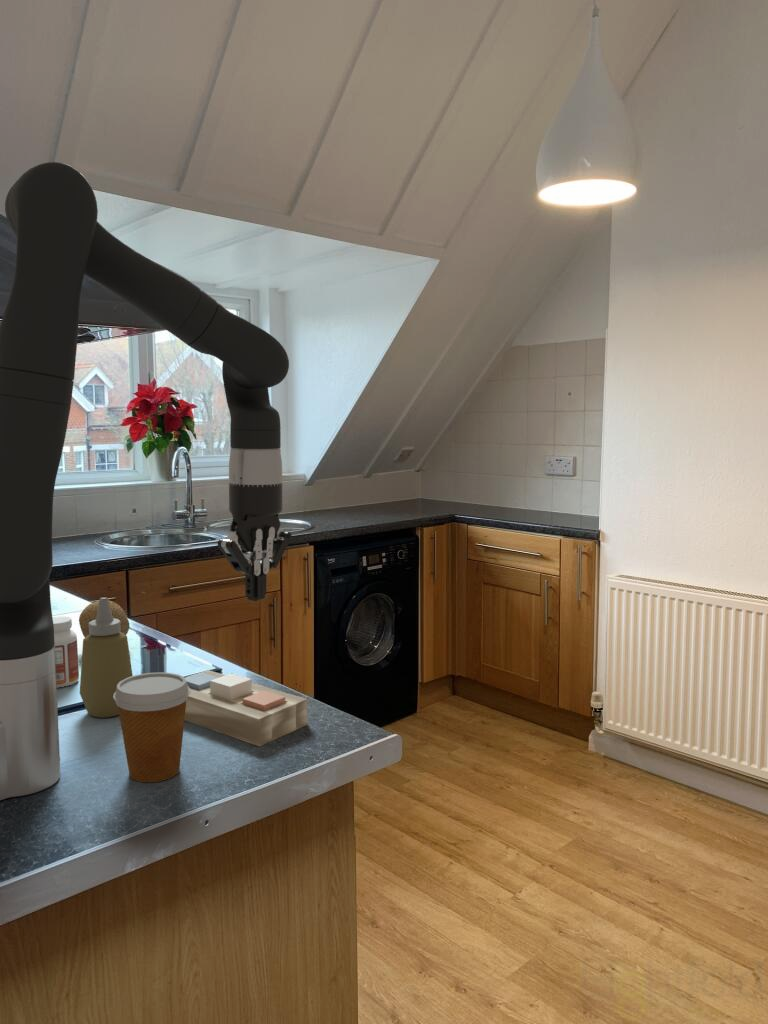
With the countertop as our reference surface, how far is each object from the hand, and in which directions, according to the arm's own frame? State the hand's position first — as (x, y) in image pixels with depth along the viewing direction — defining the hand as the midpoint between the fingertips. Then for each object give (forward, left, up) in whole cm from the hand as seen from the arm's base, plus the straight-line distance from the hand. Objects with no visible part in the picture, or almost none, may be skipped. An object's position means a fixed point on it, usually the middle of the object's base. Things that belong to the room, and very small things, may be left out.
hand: (256, 599), depth 120 cm
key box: (+1, +6, -20) cm, 20 cm away
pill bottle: (-6, +41, -20) cm, 46 cm away
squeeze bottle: (-9, +23, -20) cm, 32 cm away
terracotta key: (+1, -1, -18) cm, 18 cm away
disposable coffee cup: (-18, 0, -20) cm, 27 cm away
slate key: (+1, +13, -18) cm, 22 cm away
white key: (+1, +6, -17) cm, 18 cm away
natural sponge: (+10, +51, -20) cm, 56 cm away
